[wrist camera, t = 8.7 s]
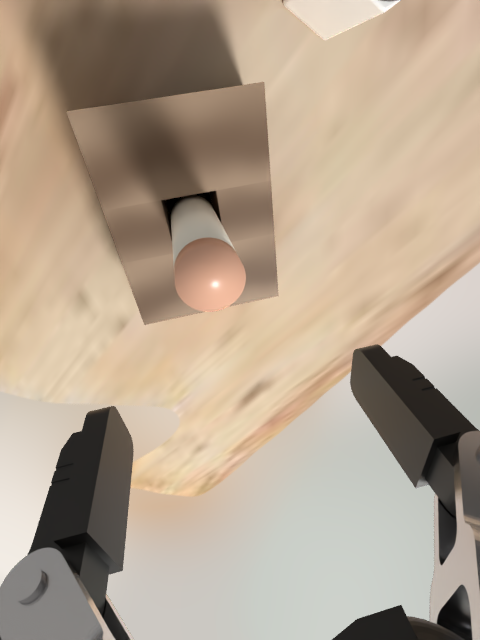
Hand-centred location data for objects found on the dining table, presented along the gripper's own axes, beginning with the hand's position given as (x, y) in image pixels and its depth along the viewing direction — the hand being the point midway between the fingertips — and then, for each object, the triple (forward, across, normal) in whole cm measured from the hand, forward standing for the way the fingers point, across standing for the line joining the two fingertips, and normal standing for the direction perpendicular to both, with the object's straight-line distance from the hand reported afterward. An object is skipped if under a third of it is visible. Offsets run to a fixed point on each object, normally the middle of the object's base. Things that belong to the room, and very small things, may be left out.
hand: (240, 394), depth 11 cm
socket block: (+27, 0, 0) cm, 27 cm away
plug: (+22, 0, 0) cm, 22 cm away
